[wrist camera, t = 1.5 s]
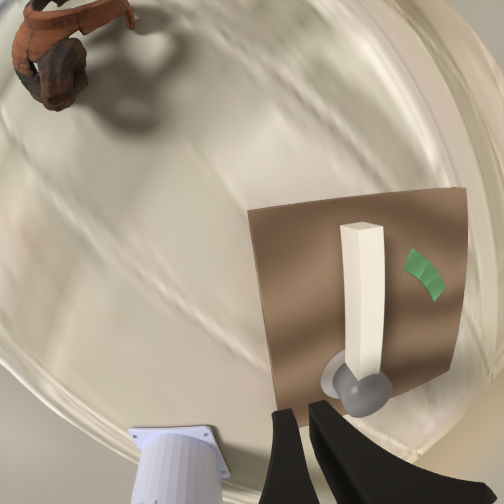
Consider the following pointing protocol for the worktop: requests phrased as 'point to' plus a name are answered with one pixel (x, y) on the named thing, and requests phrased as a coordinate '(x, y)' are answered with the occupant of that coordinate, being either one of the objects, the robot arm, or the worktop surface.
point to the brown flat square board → (333, 294)
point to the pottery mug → (59, 48)
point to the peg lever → (363, 321)
